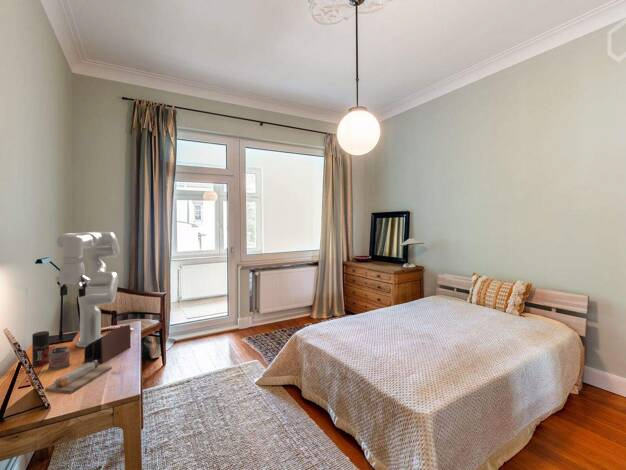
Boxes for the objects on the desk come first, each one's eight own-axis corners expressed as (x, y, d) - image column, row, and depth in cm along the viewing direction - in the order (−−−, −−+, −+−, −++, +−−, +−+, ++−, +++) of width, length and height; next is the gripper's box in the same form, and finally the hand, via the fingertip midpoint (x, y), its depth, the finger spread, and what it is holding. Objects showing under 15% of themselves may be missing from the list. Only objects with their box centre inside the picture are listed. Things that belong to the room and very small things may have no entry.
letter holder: (130, 348, 167) (131, 322, 166) (102, 364, 147) (102, 335, 147) (114, 346, 168) (114, 321, 167) (83, 362, 148) (83, 334, 148)
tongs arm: (92, 368, 140) (92, 362, 140) (95, 368, 140) (95, 362, 140) (59, 386, 124) (59, 379, 124) (62, 387, 124) (62, 379, 124)
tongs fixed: (93, 366, 142) (93, 359, 142) (98, 366, 142) (98, 359, 142) (56, 387, 124) (56, 379, 124) (61, 387, 124) (61, 379, 124)
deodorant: (46, 360, 149) (46, 330, 149) (50, 363, 146) (50, 333, 145) (30, 364, 144) (30, 333, 144) (34, 368, 141) (34, 336, 140)
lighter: (47, 370, 139) (47, 349, 139) (49, 367, 142) (49, 346, 142) (68, 367, 143) (68, 346, 142) (71, 364, 146) (71, 344, 145)
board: (88, 366, 144) (88, 364, 144) (111, 368, 143) (111, 366, 143) (45, 390, 123) (45, 388, 123) (71, 393, 122) (71, 390, 122)
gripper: (49, 260, 142) (49, 296, 143) (82, 262, 140) (82, 298, 141) (64, 259, 149) (63, 293, 150) (95, 260, 148) (95, 295, 148)
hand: (72, 295), depth 145 cm, fingers open, 9 cm apart
